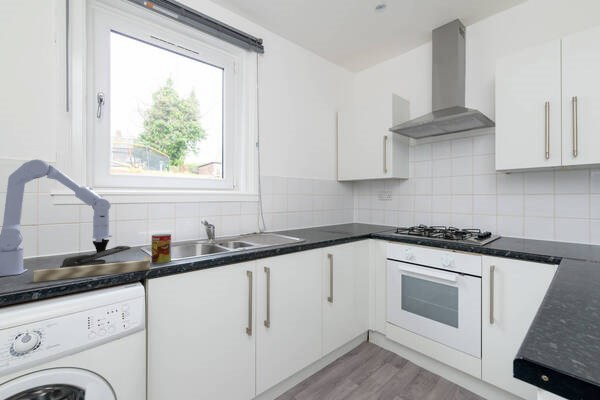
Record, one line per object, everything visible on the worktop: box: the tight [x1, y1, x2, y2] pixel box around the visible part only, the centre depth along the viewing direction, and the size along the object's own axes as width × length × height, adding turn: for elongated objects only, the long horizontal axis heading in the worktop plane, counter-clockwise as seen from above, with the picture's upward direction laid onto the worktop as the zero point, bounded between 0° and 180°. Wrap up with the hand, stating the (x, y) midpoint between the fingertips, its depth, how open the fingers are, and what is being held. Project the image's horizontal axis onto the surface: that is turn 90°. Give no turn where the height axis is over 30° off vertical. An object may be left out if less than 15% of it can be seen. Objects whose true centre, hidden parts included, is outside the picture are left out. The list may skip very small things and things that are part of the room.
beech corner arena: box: [33, 254, 151, 283], centre depth 105 cm, size 34×13×4 cm, turn 119°
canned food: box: [151, 233, 172, 264], centre depth 123 cm, size 8×8×12 cm
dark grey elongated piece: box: [59, 245, 131, 268], centre depth 115 cm, size 9×7×25 cm
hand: (101, 256), depth 121 cm, fingers closed
